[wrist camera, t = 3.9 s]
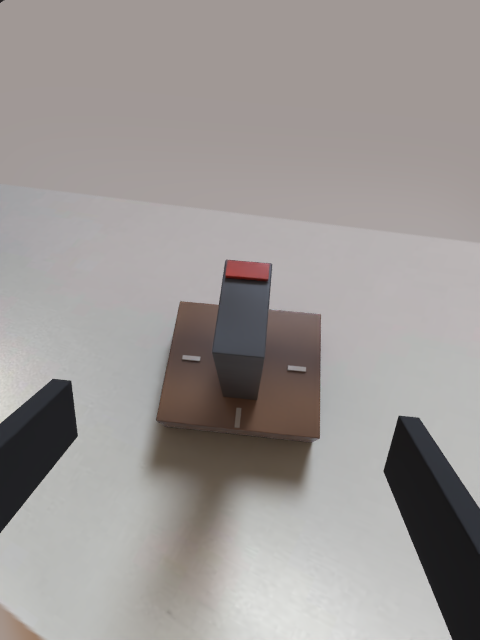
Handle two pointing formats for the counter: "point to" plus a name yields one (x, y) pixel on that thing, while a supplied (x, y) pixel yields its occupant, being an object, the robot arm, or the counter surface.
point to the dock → (275, 387)
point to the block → (242, 328)
